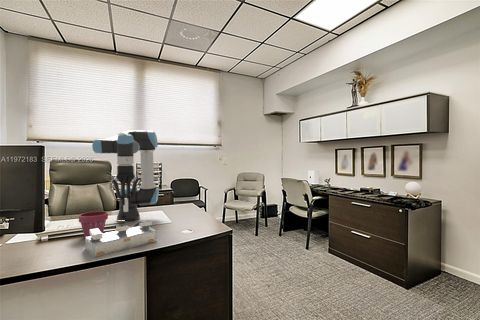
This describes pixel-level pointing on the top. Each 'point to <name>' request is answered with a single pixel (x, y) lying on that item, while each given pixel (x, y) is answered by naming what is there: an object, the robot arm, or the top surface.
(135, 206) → the robot arm
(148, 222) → the rocker
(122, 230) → the rocker
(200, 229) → the top surface
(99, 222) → the plant pot
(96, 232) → the rocker
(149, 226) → the keypad
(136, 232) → the console
